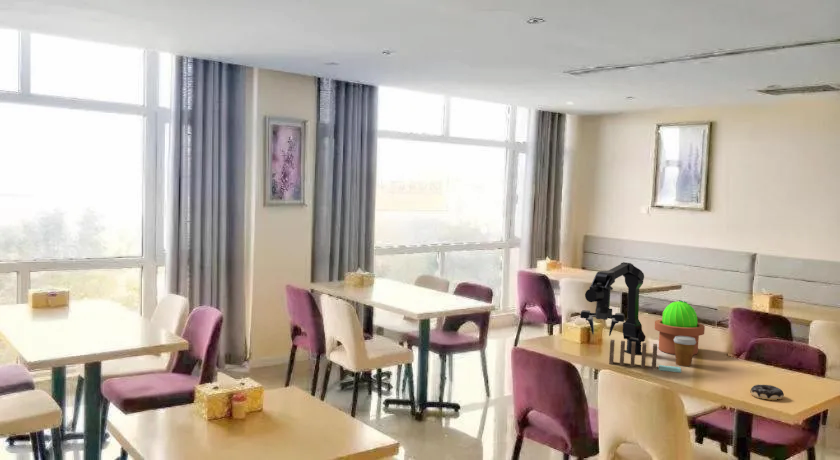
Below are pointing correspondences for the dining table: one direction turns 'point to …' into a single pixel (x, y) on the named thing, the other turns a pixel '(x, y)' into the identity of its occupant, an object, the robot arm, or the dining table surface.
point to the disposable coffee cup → (684, 350)
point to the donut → (767, 392)
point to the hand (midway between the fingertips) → (601, 335)
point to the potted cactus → (678, 326)
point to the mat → (669, 368)
